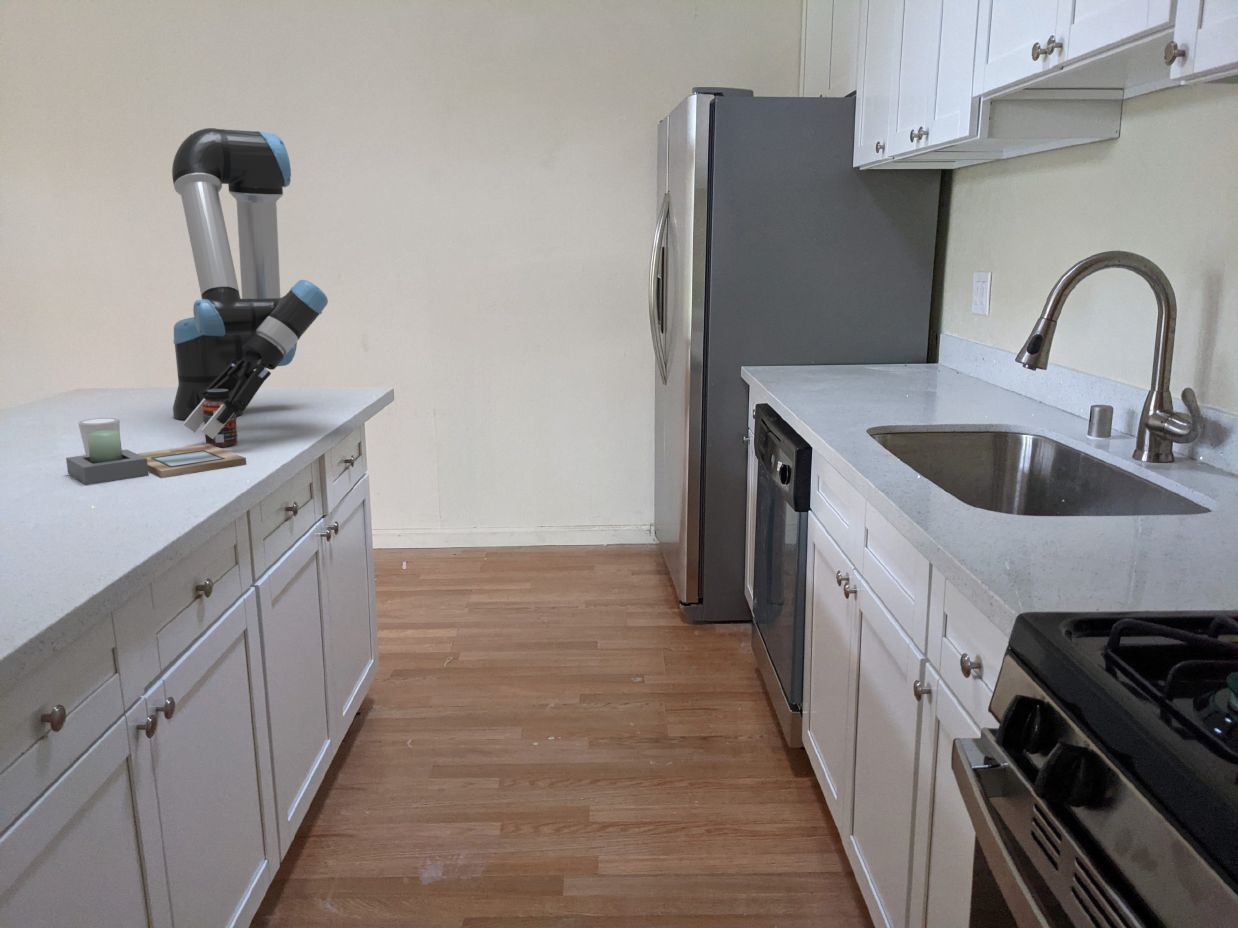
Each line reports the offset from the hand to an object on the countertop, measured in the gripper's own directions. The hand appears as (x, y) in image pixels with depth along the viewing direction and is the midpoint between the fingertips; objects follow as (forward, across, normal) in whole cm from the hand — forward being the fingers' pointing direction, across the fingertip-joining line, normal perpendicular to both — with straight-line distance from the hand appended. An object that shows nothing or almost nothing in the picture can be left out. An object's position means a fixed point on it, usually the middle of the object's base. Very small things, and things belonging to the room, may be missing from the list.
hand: (197, 431), depth 182 cm
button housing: (+17, -10, +11) cm, 22 cm away
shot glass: (+14, +6, +8) cm, 17 cm away
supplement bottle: (-1, +1, -6) cm, 6 cm away
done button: (+15, -10, +13) cm, 22 cm away
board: (+7, -10, +2) cm, 12 cm away
